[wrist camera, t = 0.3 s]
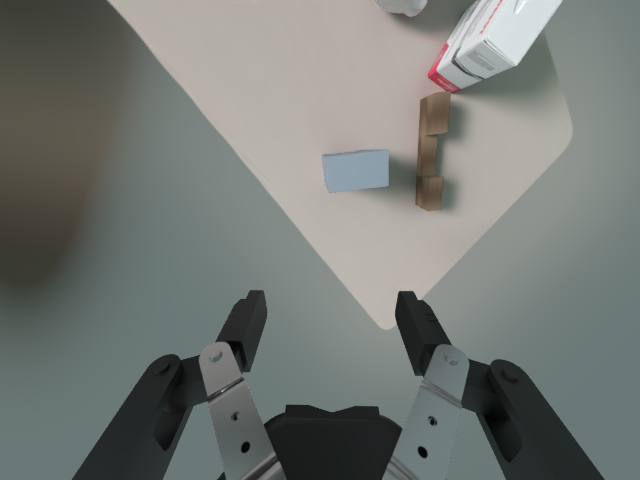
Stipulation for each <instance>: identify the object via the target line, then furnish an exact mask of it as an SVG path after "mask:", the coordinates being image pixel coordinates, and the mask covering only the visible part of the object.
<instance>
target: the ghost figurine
mask: <svg viewBox="0 0 640 480" xmlns="http://www.w3.org/2000/svg"><path fill="white" fill-rule="evenodd" d="M375 1H376V2H377V4H378V5H379V6H380V7H381V8H383V9H384V10H386V11H388V12H391V13H404V14H405V15H407V16H408V17H414V16H416V15H417V14H419V13H420V12H421V11H422V10H423V9H424V7H425V6H426V4H427V1H428V0H375Z"/></svg>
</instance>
